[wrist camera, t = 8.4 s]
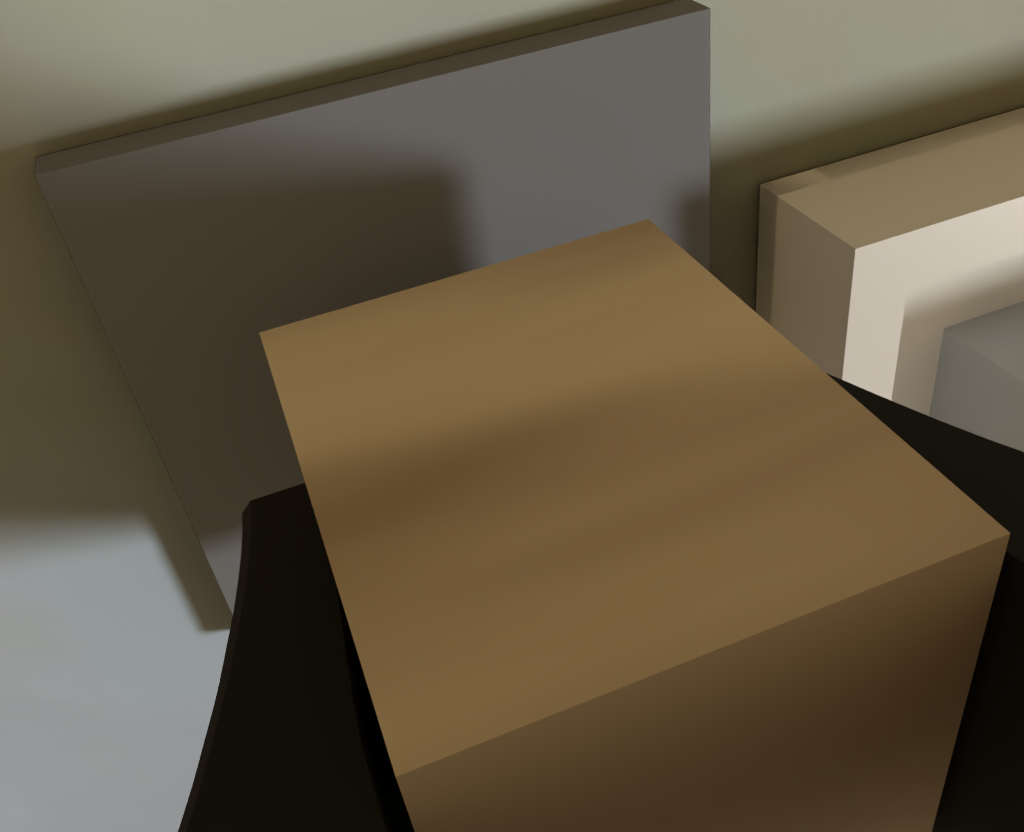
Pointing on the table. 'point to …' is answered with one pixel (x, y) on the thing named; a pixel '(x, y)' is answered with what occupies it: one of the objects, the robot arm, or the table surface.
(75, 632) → the table surface
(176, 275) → the rubber mat
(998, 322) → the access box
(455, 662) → the maple block
